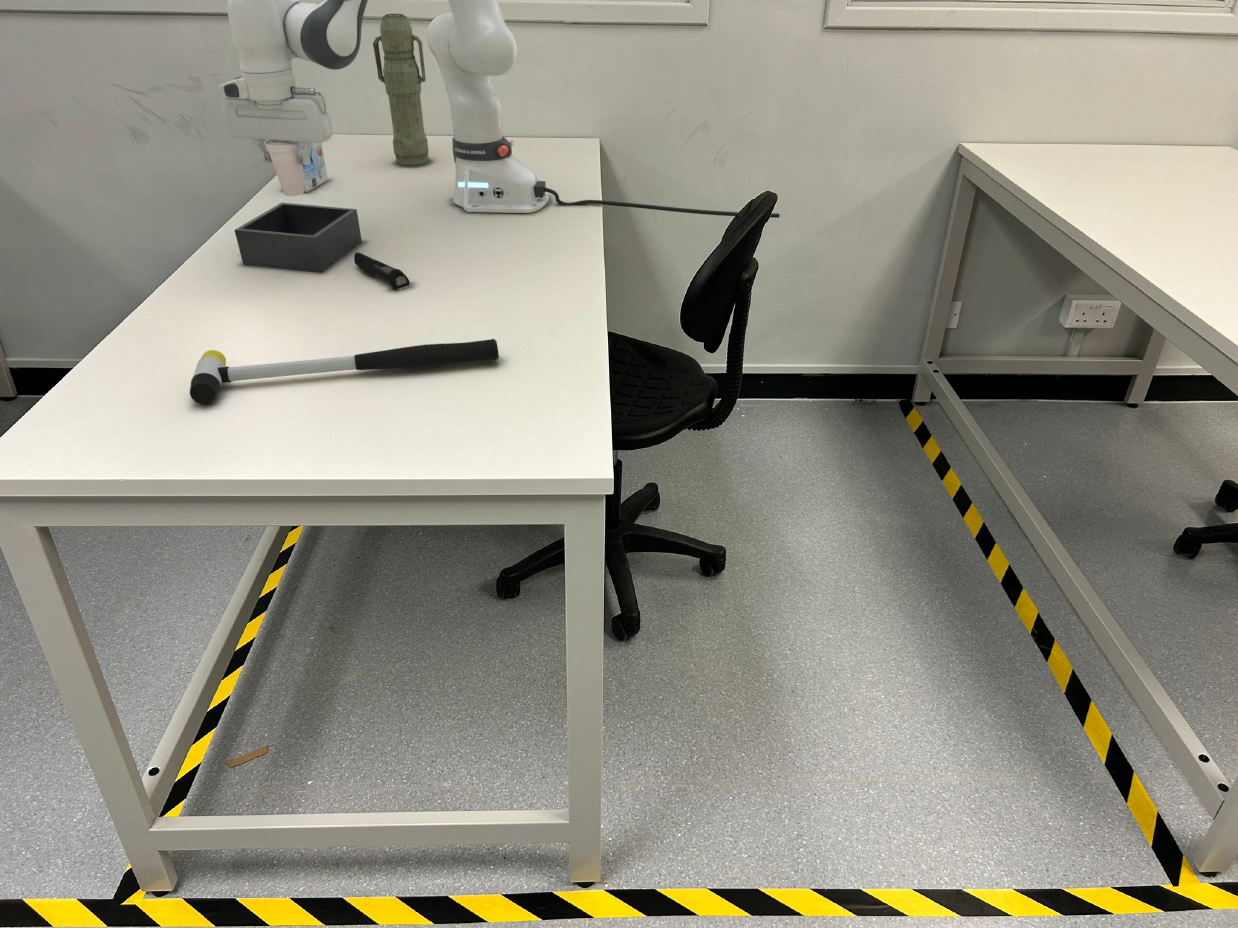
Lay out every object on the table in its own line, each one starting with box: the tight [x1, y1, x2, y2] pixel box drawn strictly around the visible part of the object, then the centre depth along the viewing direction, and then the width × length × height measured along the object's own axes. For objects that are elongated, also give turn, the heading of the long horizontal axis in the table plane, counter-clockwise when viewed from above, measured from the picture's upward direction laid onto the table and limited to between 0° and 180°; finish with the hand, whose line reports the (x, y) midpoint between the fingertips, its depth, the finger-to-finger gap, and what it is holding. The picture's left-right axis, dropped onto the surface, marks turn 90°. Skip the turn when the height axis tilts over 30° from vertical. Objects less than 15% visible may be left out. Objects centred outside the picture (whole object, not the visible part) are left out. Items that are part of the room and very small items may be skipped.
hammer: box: [189, 338, 500, 405], centre depth 132 cm, size 45×11×4 cm, turn 103°
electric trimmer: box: [353, 251, 411, 291], centre depth 163 cm, size 4×16×3 cm, turn 45°
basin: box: [234, 202, 363, 274], centre depth 172 cm, size 17×17×7 cm
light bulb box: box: [300, 142, 329, 193], centre depth 208 cm, size 11×7×11 cm, turn 168°
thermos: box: [372, 13, 430, 168], centre depth 218 cm, size 9×12×35 cm
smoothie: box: [264, 139, 304, 197], centre depth 163 cm, size 6×6×14 cm
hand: (287, 163), depth 164 cm, fingers closed on smoothie, 6 cm apart
